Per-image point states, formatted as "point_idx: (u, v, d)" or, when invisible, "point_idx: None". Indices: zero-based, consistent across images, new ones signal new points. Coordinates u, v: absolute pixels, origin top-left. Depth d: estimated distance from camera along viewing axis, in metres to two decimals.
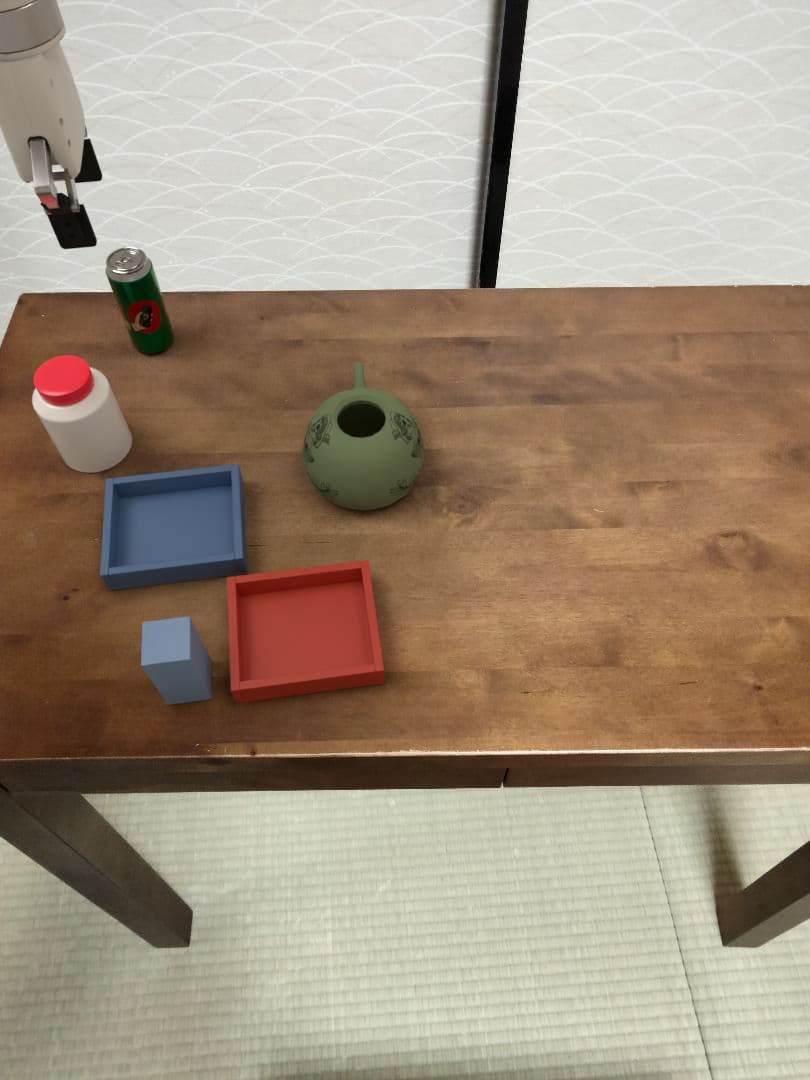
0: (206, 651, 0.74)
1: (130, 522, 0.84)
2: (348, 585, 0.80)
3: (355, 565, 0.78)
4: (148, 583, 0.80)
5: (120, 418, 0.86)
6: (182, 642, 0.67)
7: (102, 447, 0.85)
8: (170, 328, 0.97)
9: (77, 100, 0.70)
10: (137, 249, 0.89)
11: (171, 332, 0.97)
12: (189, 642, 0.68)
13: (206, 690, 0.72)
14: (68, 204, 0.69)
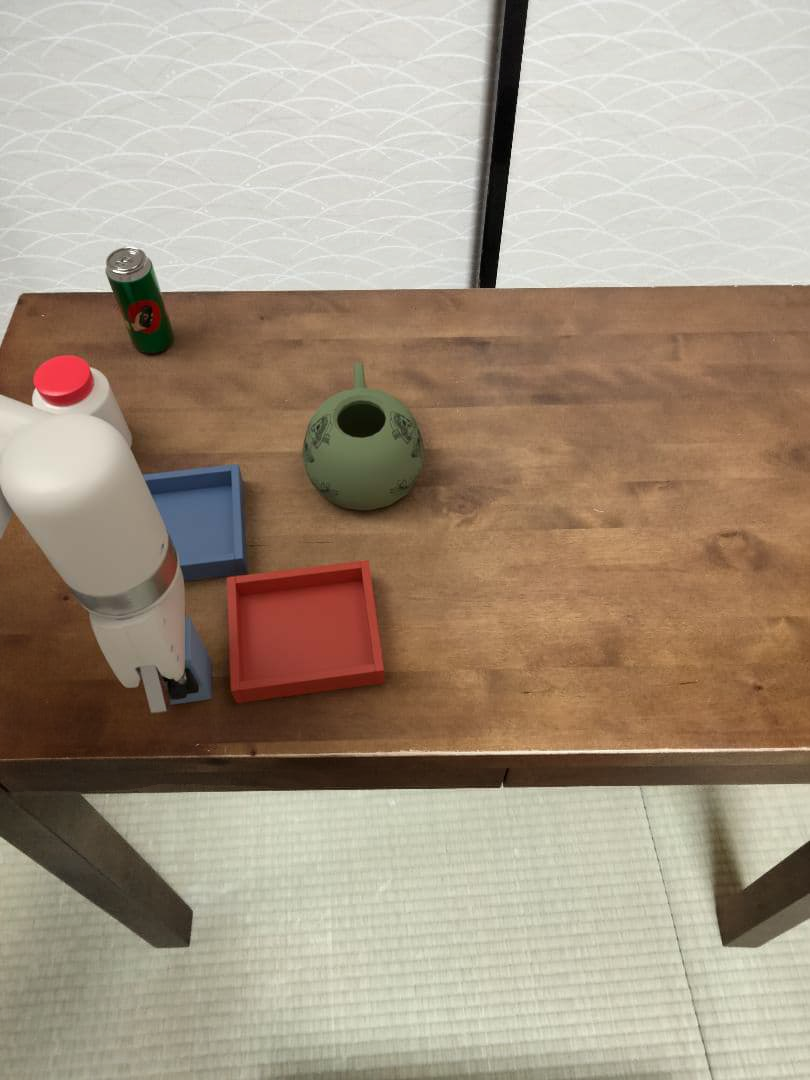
0: (206, 651, 0.74)
1: None
2: (348, 585, 0.80)
3: (355, 565, 0.78)
4: None
5: (120, 418, 0.86)
6: None
7: None
8: (170, 328, 0.97)
9: (180, 583, 0.65)
10: (137, 249, 0.89)
11: (171, 332, 0.97)
12: (189, 642, 0.68)
13: (206, 690, 0.72)
14: (176, 682, 0.66)
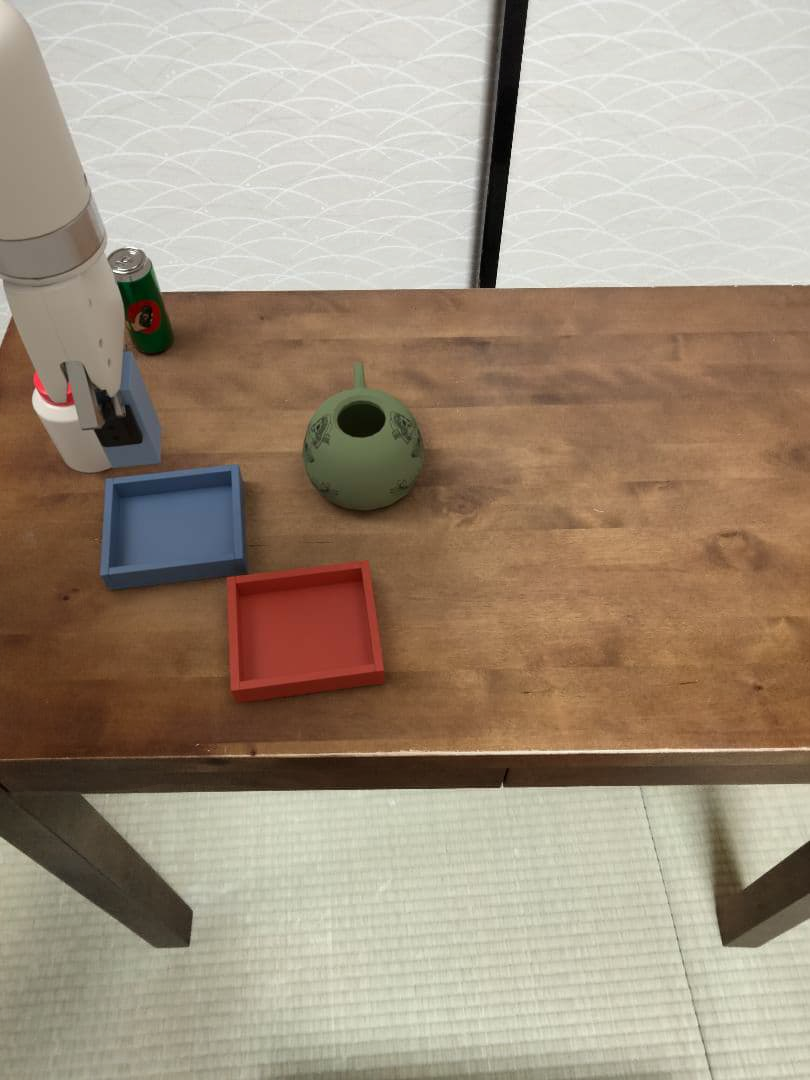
0: (154, 411, 0.68)
1: (130, 522, 0.84)
2: (348, 585, 0.80)
3: (355, 565, 0.78)
4: (148, 583, 0.80)
5: None
6: (122, 374, 0.61)
7: None
8: (170, 328, 0.97)
9: (117, 298, 0.59)
10: (137, 249, 0.89)
11: (171, 332, 0.97)
12: (130, 374, 0.61)
13: (153, 447, 0.66)
14: (113, 411, 0.60)
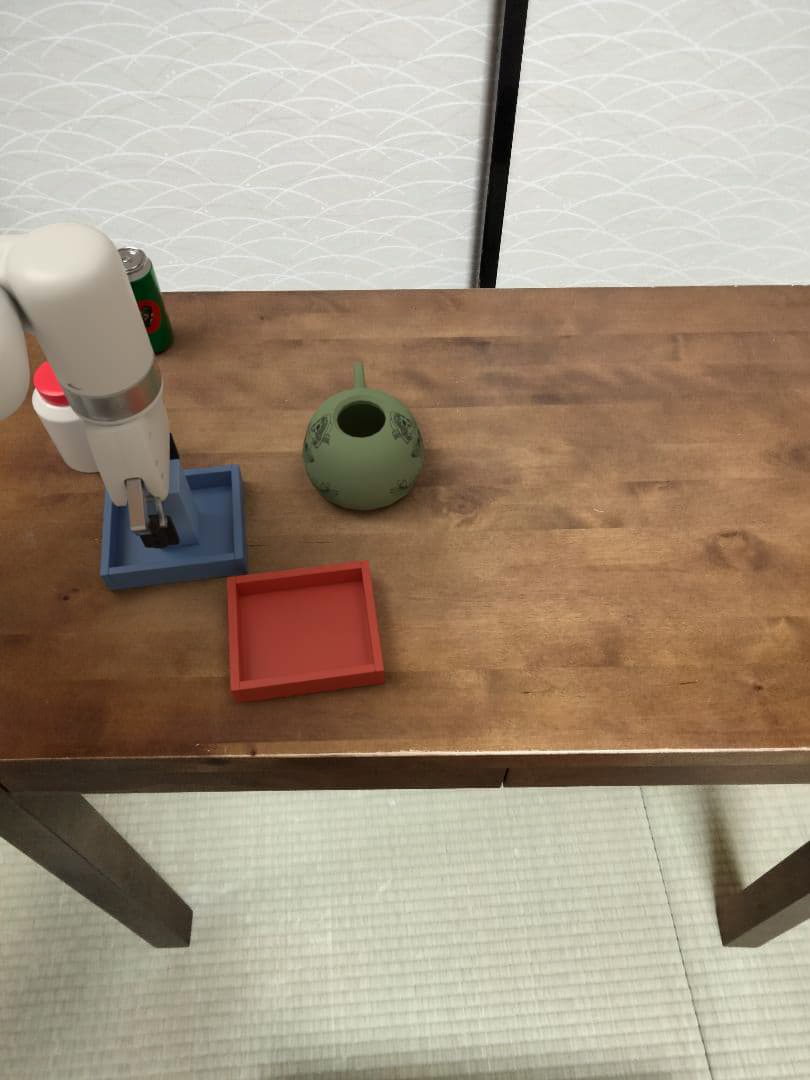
0: (194, 501, 0.83)
1: None
2: (348, 585, 0.80)
3: (355, 565, 0.78)
4: (148, 583, 0.80)
5: None
6: (172, 479, 0.76)
7: None
8: (170, 328, 0.97)
9: (165, 418, 0.73)
10: (137, 249, 0.89)
11: (171, 332, 0.97)
12: (178, 479, 0.76)
13: (194, 532, 0.81)
14: (158, 524, 0.71)
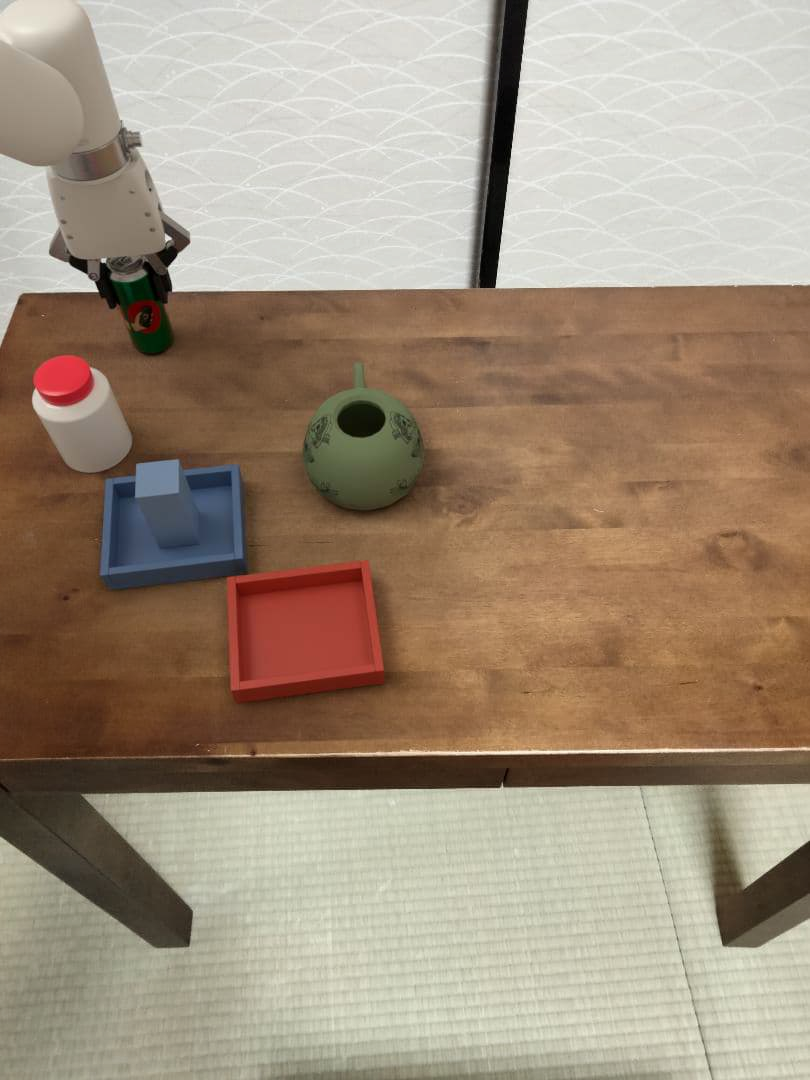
0: (194, 501, 0.83)
1: (130, 522, 0.84)
2: (348, 585, 0.80)
3: (355, 565, 0.78)
4: (148, 583, 0.80)
5: (120, 418, 0.86)
6: (172, 479, 0.76)
7: (102, 447, 0.85)
8: (170, 328, 0.97)
9: (136, 233, 0.83)
10: None
11: (171, 332, 0.97)
12: (178, 479, 0.76)
13: (194, 532, 0.81)
14: (86, 270, 0.88)
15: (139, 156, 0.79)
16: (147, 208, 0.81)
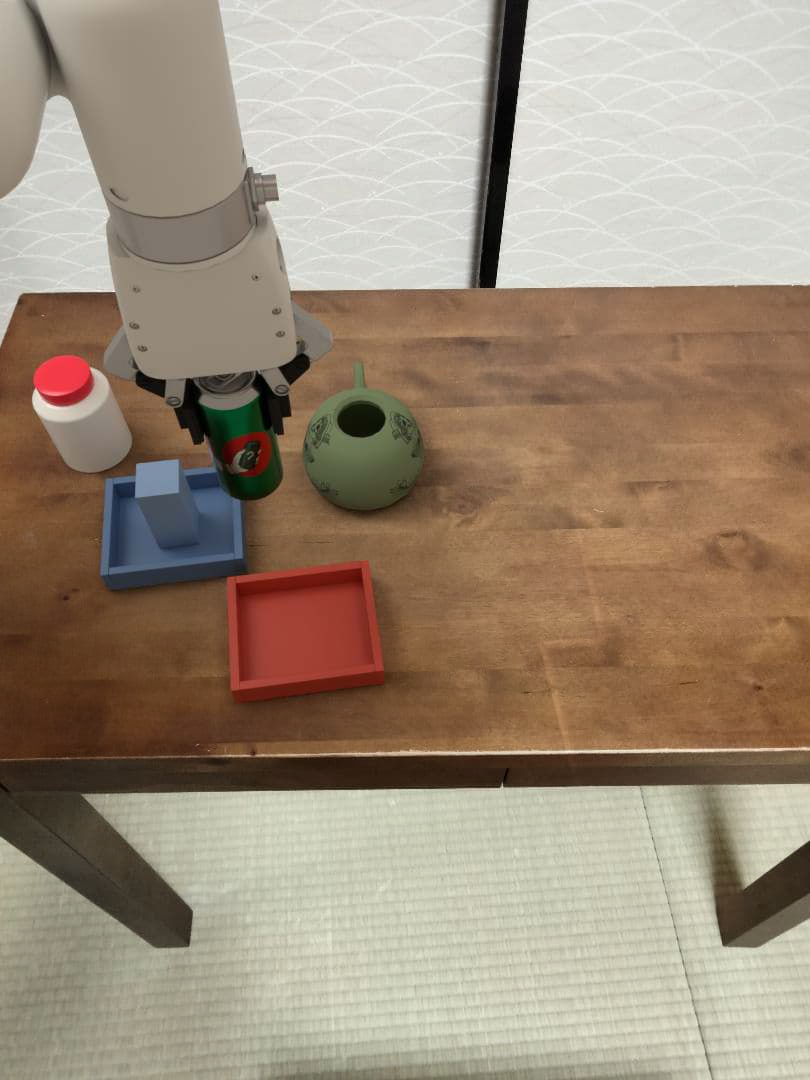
0: (194, 501, 0.83)
1: (130, 522, 0.84)
2: (348, 585, 0.80)
3: (355, 565, 0.78)
4: (148, 583, 0.80)
5: (120, 418, 0.86)
6: (172, 479, 0.76)
7: (102, 447, 0.85)
8: (280, 463, 0.63)
9: (253, 341, 0.50)
10: None
11: (281, 468, 0.63)
12: (178, 479, 0.76)
13: (194, 532, 0.81)
14: (162, 391, 0.54)
15: (268, 215, 0.46)
16: (277, 301, 0.48)
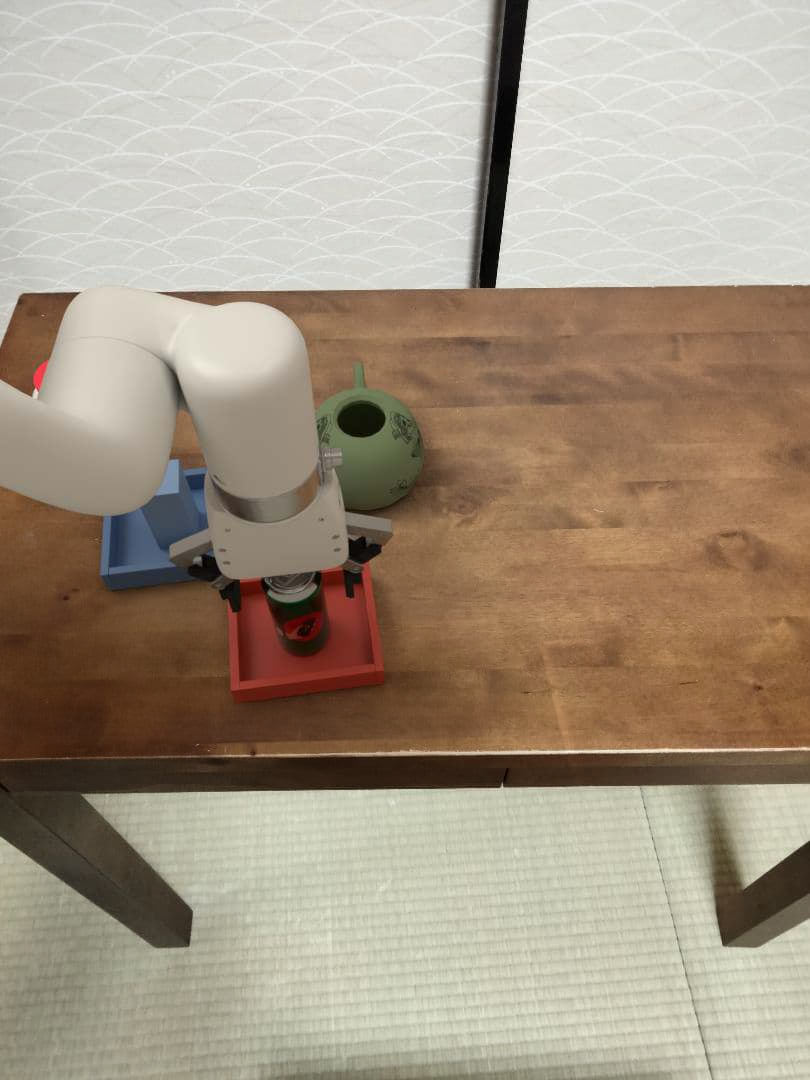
0: (194, 501, 0.83)
1: (130, 522, 0.84)
2: None
3: None
4: (148, 583, 0.80)
5: None
6: (172, 479, 0.76)
7: None
8: (328, 624, 0.75)
9: (315, 555, 0.61)
10: None
11: (329, 628, 0.76)
12: (178, 479, 0.76)
13: (194, 532, 0.81)
14: (209, 578, 0.65)
15: (332, 470, 0.57)
16: (337, 531, 0.59)
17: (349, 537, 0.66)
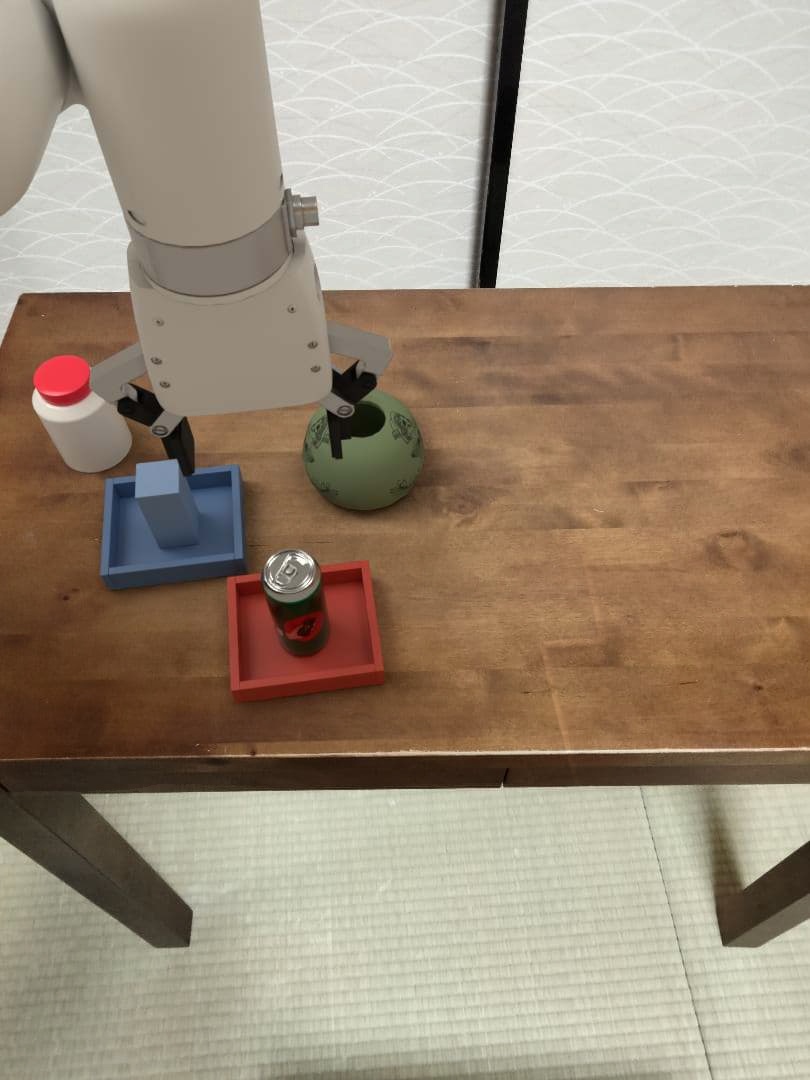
0: (194, 501, 0.83)
1: (130, 522, 0.84)
2: (348, 585, 0.80)
3: (355, 565, 0.78)
4: (148, 583, 0.80)
5: (120, 418, 0.86)
6: (172, 479, 0.76)
7: (102, 447, 0.85)
8: (329, 624, 0.75)
9: (286, 376, 0.45)
10: (302, 552, 0.68)
11: (329, 628, 0.76)
12: (178, 479, 0.76)
13: (194, 532, 0.81)
14: (147, 419, 0.49)
15: (306, 240, 0.41)
16: (314, 335, 0.43)
17: (334, 369, 0.50)
